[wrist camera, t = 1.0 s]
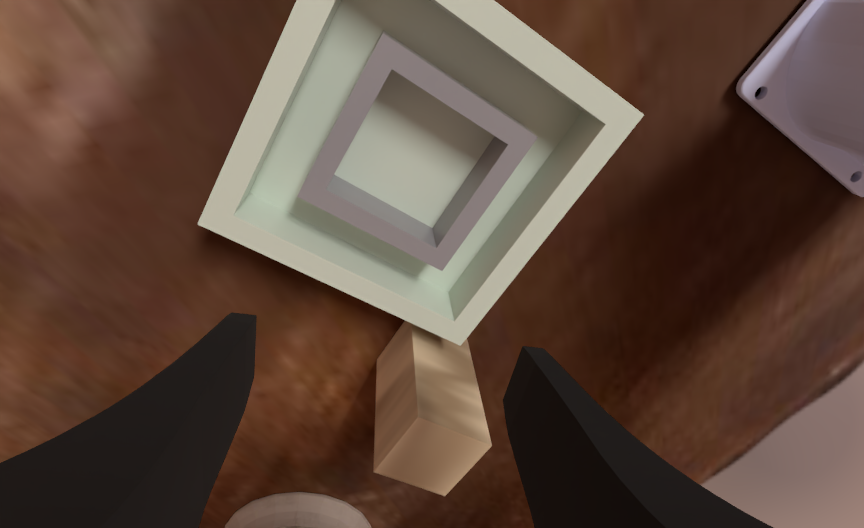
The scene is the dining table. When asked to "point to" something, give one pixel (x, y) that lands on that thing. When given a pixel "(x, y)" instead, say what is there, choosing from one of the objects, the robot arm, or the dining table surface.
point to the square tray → (414, 153)
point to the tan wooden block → (427, 411)
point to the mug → (298, 513)
